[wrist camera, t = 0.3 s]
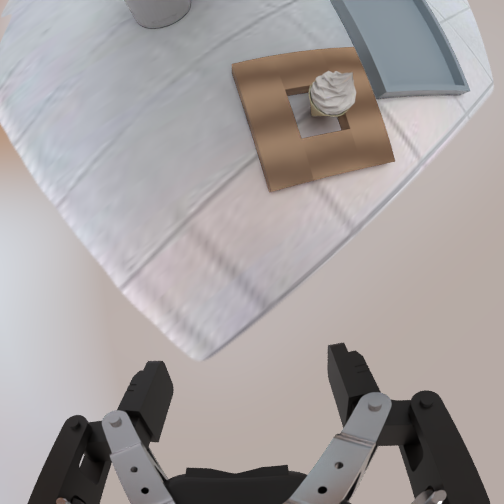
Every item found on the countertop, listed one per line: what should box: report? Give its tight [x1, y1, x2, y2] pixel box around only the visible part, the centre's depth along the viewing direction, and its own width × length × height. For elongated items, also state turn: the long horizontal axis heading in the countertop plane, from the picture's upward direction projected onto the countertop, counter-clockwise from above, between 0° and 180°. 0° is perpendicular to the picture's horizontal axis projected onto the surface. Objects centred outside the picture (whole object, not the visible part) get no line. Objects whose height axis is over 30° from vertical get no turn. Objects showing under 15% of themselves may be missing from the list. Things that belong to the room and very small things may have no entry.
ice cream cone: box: [309, 71, 356, 117], centre depth 28 cm, size 5×5×15 cm
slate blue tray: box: [330, 0, 470, 99], centre depth 31 cm, size 24×20×4 cm
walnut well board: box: [232, 47, 395, 192], centre depth 34 cm, size 18×18×3 cm
